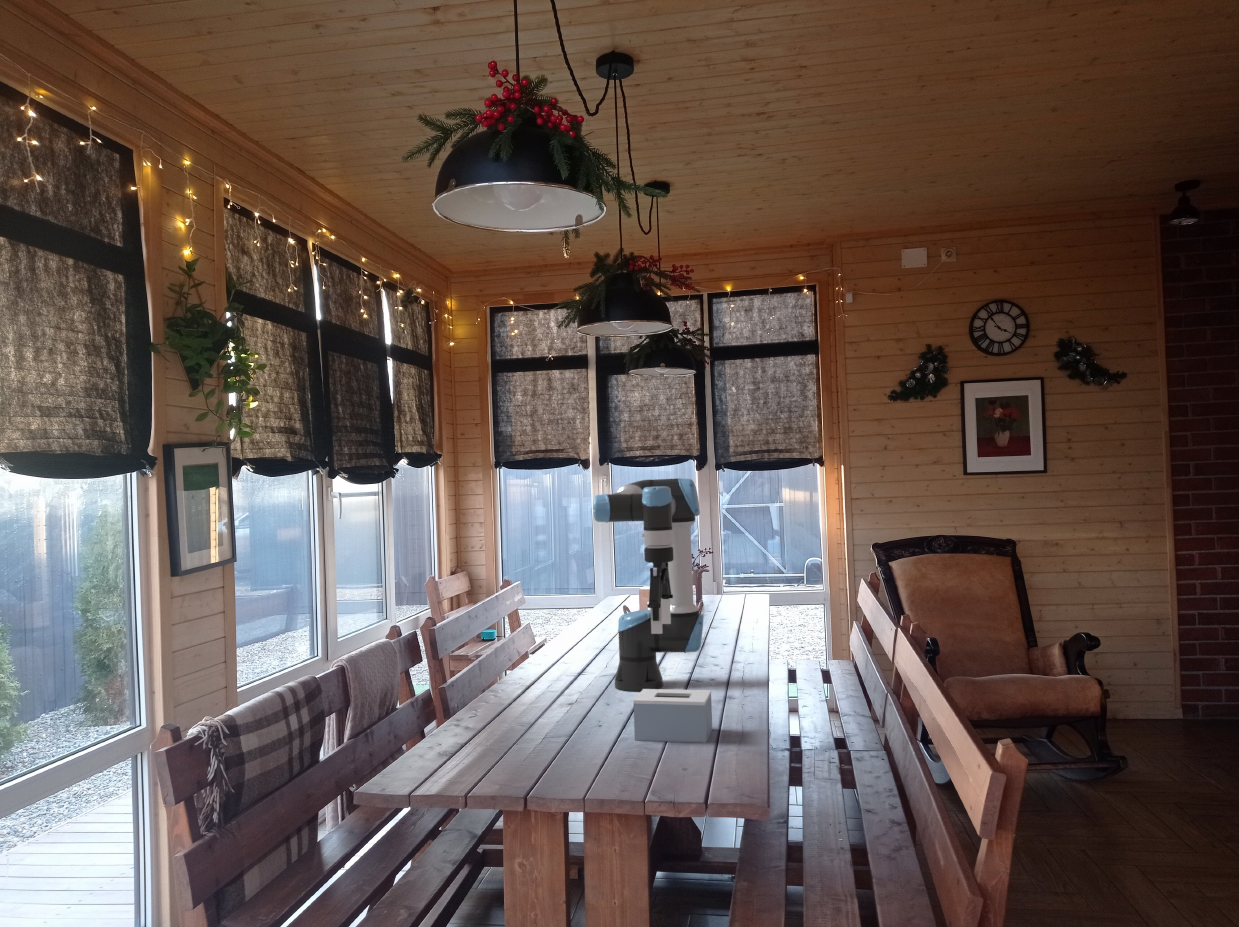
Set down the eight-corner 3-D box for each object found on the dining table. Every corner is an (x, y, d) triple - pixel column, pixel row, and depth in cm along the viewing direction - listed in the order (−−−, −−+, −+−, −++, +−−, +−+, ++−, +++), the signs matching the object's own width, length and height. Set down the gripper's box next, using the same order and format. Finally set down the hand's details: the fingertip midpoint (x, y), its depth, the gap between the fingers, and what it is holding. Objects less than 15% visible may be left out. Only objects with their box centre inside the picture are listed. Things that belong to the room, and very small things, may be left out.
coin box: (644, 726, 242) (643, 688, 242) (712, 729, 238) (711, 690, 238) (634, 740, 230) (633, 700, 230) (706, 742, 226) (704, 702, 226)
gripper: (652, 542, 250) (655, 619, 250) (635, 551, 225) (638, 637, 225) (680, 541, 248) (682, 619, 248) (665, 551, 224) (668, 638, 224)
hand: (661, 628), depth 237 cm, fingers open, 13 cm apart
